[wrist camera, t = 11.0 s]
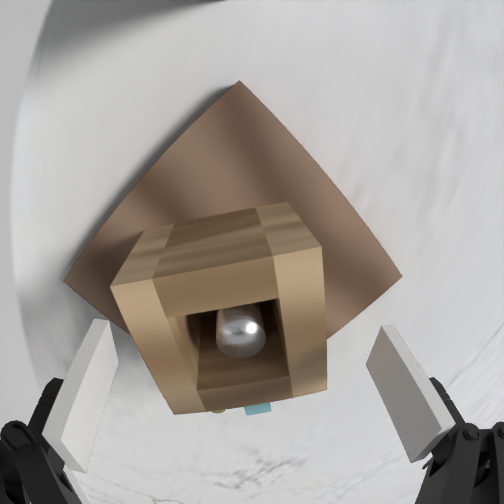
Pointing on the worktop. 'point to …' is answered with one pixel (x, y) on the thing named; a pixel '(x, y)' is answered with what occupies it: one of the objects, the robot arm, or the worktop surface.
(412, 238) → the worktop surface
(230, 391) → the hollow wooden frame
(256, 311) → the post
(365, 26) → the worktop surface
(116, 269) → the base board
